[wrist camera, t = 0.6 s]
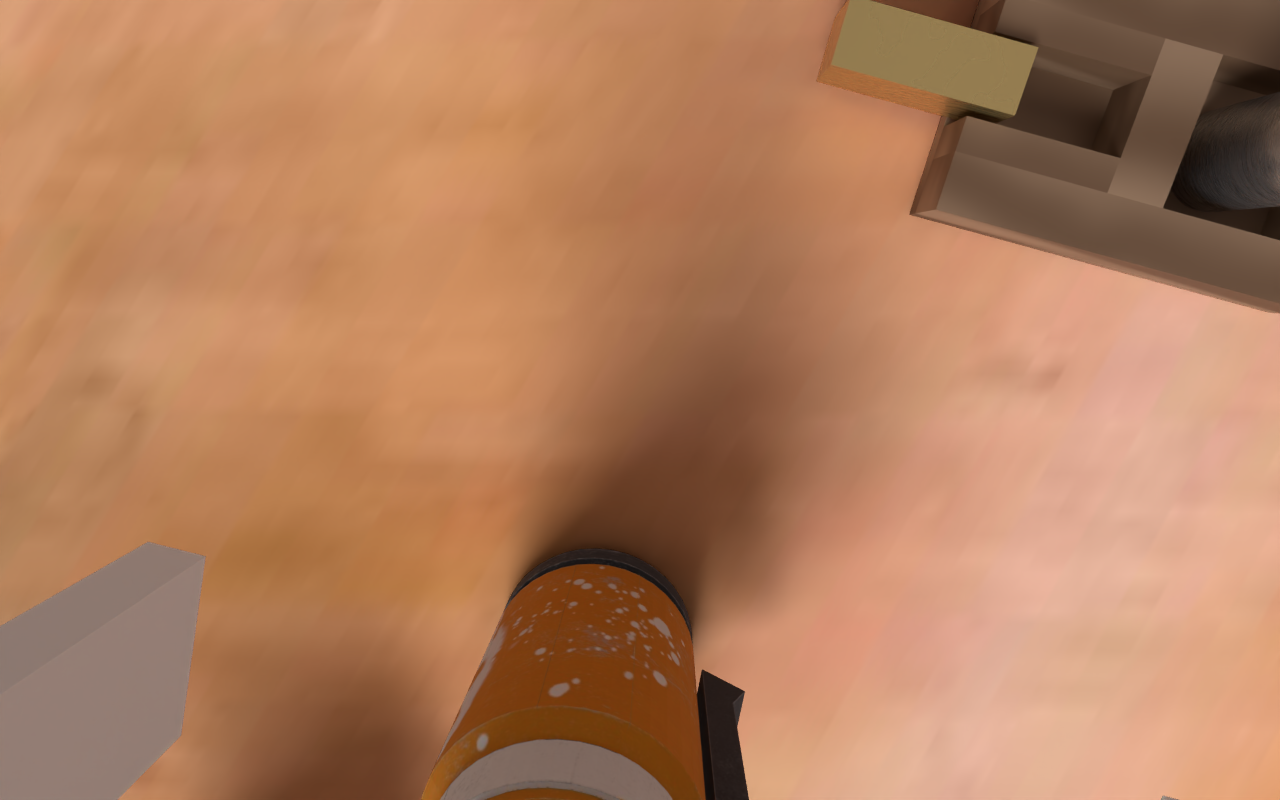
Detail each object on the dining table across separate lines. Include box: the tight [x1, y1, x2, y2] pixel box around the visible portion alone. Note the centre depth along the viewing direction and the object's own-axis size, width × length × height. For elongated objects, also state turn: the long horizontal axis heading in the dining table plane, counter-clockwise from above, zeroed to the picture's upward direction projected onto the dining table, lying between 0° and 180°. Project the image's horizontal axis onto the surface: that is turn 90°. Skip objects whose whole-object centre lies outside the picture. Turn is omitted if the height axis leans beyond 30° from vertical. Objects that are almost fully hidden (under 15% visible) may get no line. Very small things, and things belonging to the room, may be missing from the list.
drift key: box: [817, 0, 1038, 124], centre depth 27 cm, size 2×7×2 cm, turn 75°
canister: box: [421, 549, 749, 800], centre depth 25 cm, size 9×11×20 cm
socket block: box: [910, 0, 1280, 313], centre depth 28 cm, size 10×16×3 cm, turn 75°
